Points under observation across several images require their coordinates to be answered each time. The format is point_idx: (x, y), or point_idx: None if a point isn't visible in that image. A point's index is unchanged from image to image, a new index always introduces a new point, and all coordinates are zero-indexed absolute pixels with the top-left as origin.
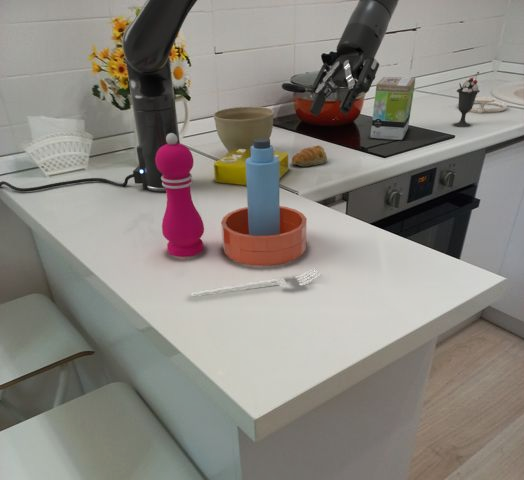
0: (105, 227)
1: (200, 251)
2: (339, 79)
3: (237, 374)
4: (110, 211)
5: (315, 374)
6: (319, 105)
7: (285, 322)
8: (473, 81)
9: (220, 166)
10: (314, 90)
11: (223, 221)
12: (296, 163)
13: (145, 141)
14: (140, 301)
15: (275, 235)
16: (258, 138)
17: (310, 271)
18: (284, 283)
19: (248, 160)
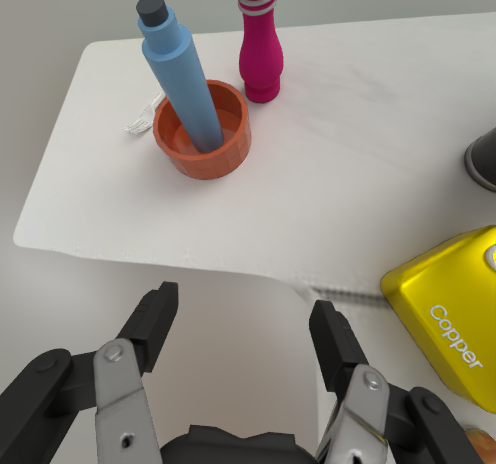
0: (381, 57)
1: (246, 92)
2: (232, 436)
3: (112, 49)
4: (432, 74)
5: (78, 75)
6: (320, 342)
7: (120, 90)
8: None
9: (482, 228)
10: (408, 395)
11: (230, 87)
12: (468, 431)
13: None
14: (217, 37)
15: (162, 104)
16: (160, 3)
17: (136, 131)
18: (146, 111)
19: (180, 27)
